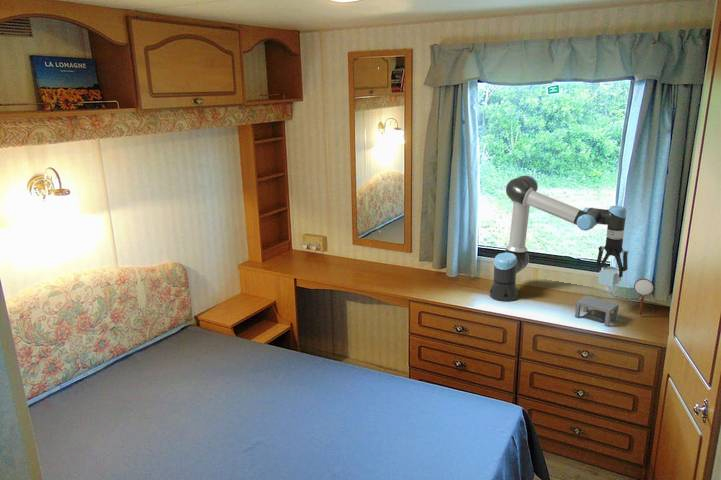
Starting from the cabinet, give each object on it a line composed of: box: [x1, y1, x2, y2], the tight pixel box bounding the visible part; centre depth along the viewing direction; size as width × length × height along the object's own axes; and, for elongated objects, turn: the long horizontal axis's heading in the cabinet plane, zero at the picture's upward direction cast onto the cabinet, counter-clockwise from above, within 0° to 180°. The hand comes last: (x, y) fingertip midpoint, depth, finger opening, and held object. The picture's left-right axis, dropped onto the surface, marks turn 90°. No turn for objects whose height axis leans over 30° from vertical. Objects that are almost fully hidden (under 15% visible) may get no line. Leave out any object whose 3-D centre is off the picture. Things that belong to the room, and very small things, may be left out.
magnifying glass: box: [633, 278, 655, 317], centre depth 259 cm, size 9×2×20 cm, turn 57°
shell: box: [597, 265, 622, 287], centre depth 265 cm, size 12×7×6 cm, turn 135°
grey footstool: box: [574, 295, 620, 328], centre depth 260 cm, size 16×12×8 cm
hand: (609, 281), depth 266 cm, fingers closed on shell, 7 cm apart
